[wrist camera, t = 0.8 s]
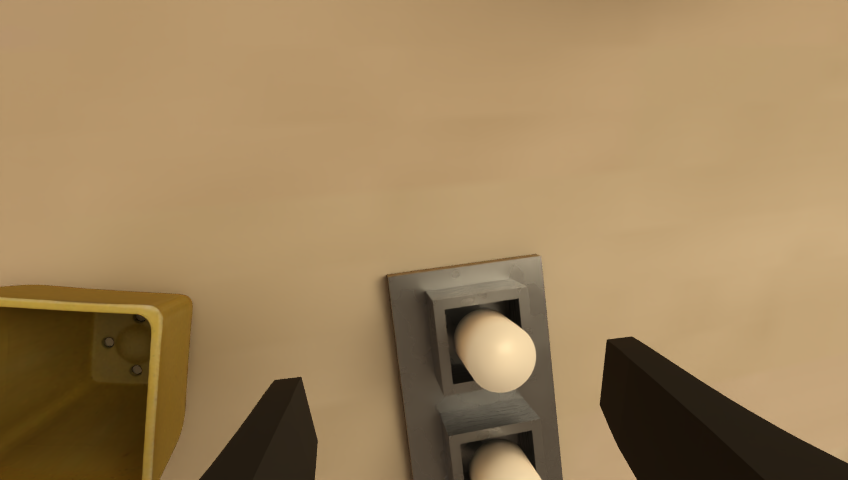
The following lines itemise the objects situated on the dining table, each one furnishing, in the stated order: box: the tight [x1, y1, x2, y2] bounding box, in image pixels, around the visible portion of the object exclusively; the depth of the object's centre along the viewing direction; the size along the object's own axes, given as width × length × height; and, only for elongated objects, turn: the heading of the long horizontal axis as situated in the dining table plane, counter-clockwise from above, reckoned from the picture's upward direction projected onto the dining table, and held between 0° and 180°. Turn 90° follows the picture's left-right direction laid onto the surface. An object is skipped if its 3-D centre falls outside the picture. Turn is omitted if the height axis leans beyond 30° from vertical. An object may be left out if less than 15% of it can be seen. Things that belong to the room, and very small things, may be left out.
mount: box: [387, 254, 563, 480], centre depth 29 cm, size 24×10×4 cm, turn 7°
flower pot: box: [0, 285, 193, 480], centre depth 23 cm, size 9×9×9 cm
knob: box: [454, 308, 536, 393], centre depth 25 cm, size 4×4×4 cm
